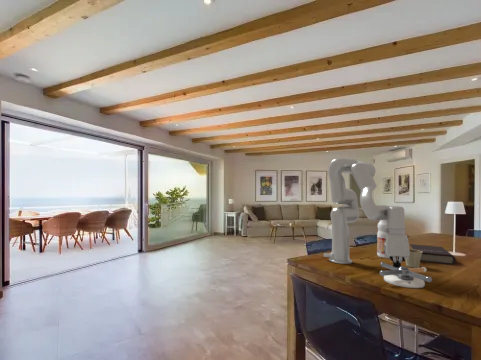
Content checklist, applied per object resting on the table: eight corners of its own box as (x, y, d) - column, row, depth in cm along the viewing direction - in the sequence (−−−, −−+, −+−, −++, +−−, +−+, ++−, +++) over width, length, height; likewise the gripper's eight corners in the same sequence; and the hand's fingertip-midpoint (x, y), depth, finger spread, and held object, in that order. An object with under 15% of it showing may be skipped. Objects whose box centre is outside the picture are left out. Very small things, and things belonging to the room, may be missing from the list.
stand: (389, 286, 122) (389, 281, 122) (379, 275, 138) (379, 271, 138) (431, 289, 119) (431, 285, 119) (416, 278, 134) (416, 274, 134)
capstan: (406, 290, 112) (406, 278, 112) (359, 271, 137) (359, 261, 137) (454, 285, 120) (454, 273, 120) (401, 268, 145) (401, 258, 145)
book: (455, 265, 161) (455, 255, 161) (415, 261, 169) (415, 251, 170) (444, 256, 186) (444, 247, 187) (410, 252, 195) (410, 244, 195)
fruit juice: (383, 254, 186) (383, 211, 187) (397, 257, 178) (396, 212, 179) (373, 255, 181) (374, 211, 182) (387, 258, 173) (387, 213, 174)
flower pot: (425, 269, 151) (425, 253, 151) (406, 268, 153) (406, 251, 153) (418, 264, 160) (418, 249, 160) (400, 263, 162) (400, 248, 162)
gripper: (381, 232, 134) (382, 271, 133) (416, 233, 131) (417, 273, 130) (377, 230, 141) (377, 267, 140) (409, 231, 139) (410, 269, 138)
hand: (396, 270), depth 135 cm, fingers closed
